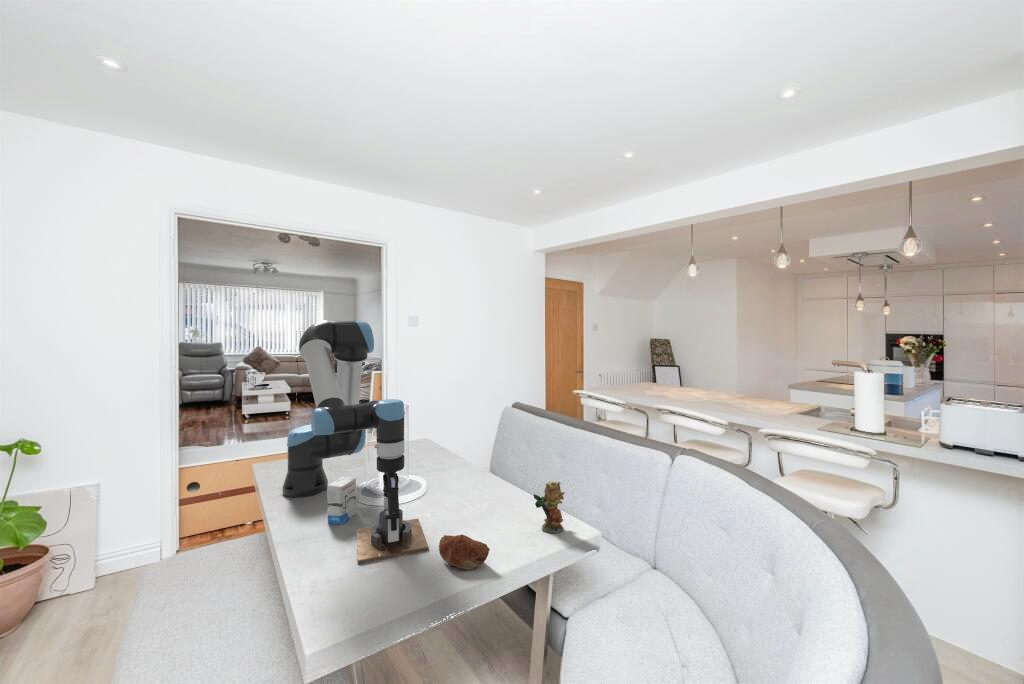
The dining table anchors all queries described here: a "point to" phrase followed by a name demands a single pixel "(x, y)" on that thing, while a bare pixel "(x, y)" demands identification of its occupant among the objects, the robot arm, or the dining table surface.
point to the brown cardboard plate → (376, 550)
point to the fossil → (463, 551)
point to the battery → (384, 525)
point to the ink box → (341, 500)
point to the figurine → (551, 507)
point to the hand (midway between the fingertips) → (391, 529)
